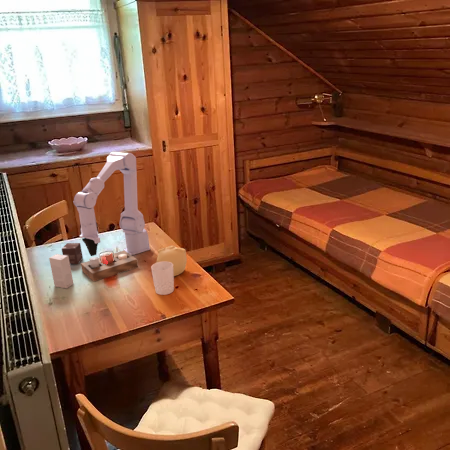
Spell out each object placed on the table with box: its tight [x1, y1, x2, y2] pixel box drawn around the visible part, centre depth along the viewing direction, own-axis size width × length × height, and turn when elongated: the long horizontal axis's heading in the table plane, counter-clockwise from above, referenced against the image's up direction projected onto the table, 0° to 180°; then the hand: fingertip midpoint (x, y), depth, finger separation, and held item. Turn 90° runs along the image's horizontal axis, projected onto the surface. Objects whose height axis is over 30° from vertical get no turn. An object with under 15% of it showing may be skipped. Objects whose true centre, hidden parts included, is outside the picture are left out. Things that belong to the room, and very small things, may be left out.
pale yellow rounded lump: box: [156, 245, 188, 277], centre depth 194 cm, size 12×12×11 cm
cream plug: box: [118, 254, 127, 260], centre depth 204 cm, size 4×4×4 cm
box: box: [61, 242, 83, 265], centre depth 209 cm, size 6×6×7 cm
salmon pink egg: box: [105, 252, 114, 264], centre depth 200 cm, size 4×4×4 cm
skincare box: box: [48, 253, 74, 289], centre depth 188 cm, size 6×4×12 cm
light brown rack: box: [80, 250, 139, 282], centre depth 201 cm, size 19×12×4 cm, turn 127°
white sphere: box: [88, 256, 100, 269], centre depth 196 cm, size 4×4×4 cm
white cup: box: [150, 261, 175, 296], centre depth 180 cm, size 8×8×10 cm
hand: (93, 254), depth 195 cm, fingers closed
